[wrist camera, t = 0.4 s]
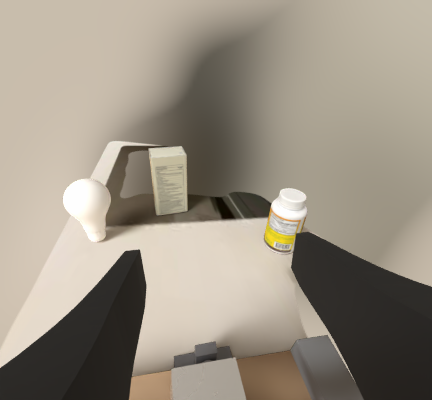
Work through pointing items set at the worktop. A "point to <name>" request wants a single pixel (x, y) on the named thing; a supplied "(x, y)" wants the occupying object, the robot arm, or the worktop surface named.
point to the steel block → (207, 381)
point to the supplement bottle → (285, 221)
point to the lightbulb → (88, 206)
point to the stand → (203, 355)
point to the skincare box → (169, 179)
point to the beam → (275, 375)
